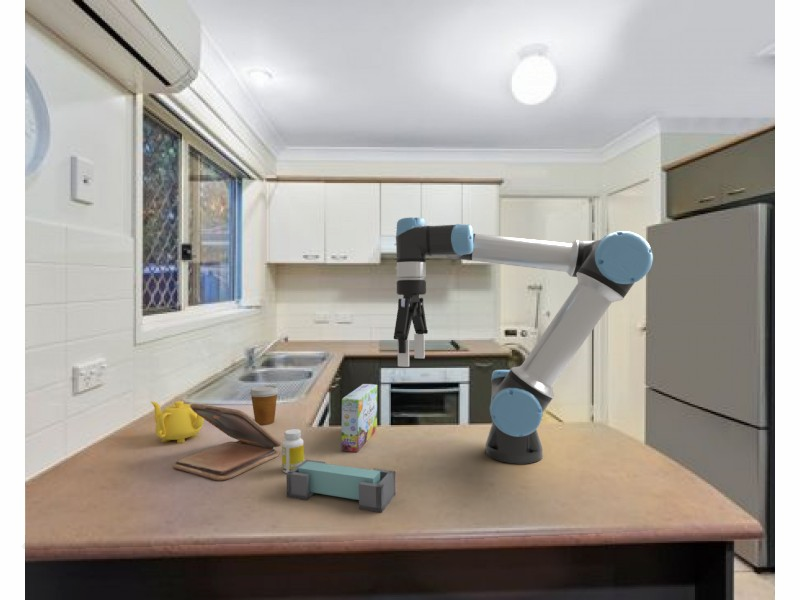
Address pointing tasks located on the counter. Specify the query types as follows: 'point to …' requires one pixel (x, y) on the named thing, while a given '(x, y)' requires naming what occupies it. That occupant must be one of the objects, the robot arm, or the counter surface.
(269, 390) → the disposable coffee cup
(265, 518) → the counter surface
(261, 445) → the case
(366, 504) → the end cap near
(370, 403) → the snack box
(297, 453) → the supplement bottle
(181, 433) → the teapot
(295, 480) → the end cap far
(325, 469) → the teal rectangular bar
